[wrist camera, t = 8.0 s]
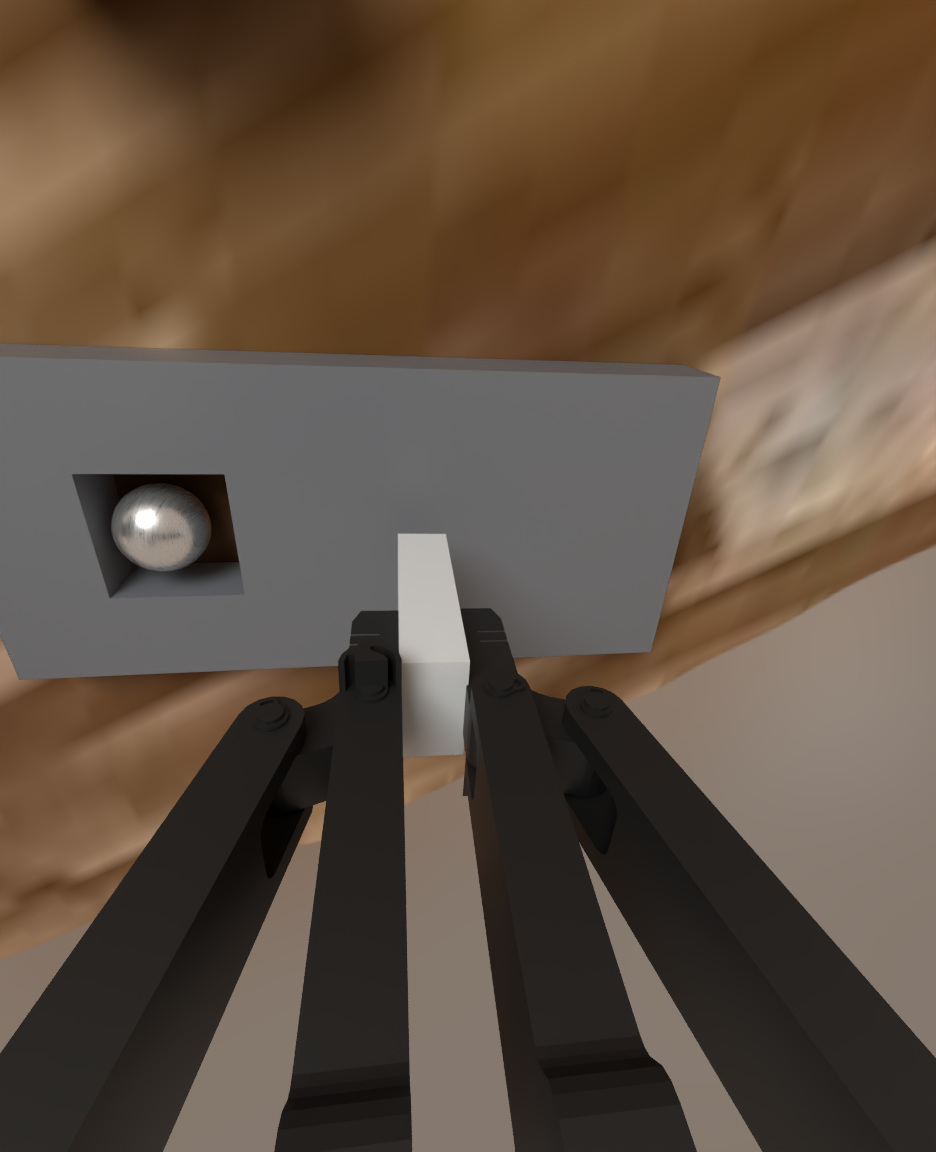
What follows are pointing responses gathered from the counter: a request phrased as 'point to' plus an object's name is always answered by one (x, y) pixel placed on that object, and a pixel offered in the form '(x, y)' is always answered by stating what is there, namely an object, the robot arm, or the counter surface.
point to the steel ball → (161, 527)
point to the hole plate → (337, 499)
